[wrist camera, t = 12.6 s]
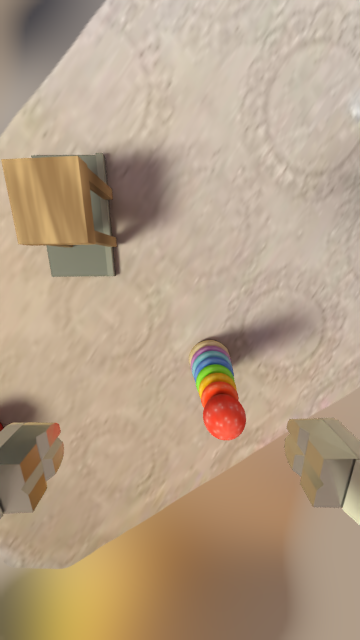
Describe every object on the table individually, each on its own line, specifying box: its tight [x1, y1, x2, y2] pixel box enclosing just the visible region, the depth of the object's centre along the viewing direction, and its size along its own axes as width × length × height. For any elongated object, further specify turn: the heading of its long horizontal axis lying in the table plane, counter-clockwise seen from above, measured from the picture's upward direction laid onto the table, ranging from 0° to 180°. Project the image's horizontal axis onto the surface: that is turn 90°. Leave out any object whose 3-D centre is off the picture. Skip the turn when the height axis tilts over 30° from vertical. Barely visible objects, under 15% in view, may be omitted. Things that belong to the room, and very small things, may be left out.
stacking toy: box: [189, 340, 246, 440], centre depth 32 cm, size 8×8×19 cm
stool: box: [1, 156, 117, 247], centre depth 29 cm, size 10×9×9 cm
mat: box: [31, 153, 115, 277], centre depth 33 cm, size 11×18×1 cm, turn 0°
